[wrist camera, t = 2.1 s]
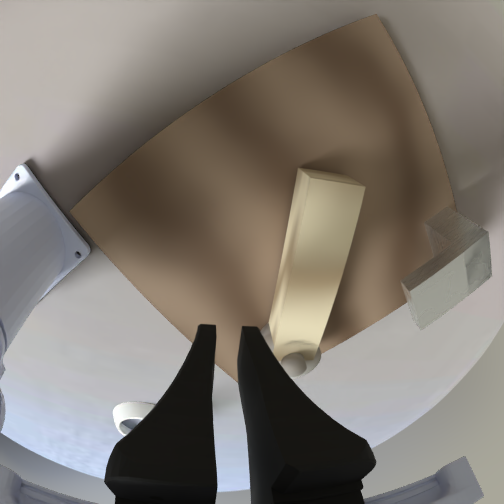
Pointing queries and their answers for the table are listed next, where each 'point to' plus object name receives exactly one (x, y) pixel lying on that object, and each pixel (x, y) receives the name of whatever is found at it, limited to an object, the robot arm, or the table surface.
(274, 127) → the base board
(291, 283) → the link
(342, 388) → the table surface
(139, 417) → the vr controller
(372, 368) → the table surface
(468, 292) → the block
